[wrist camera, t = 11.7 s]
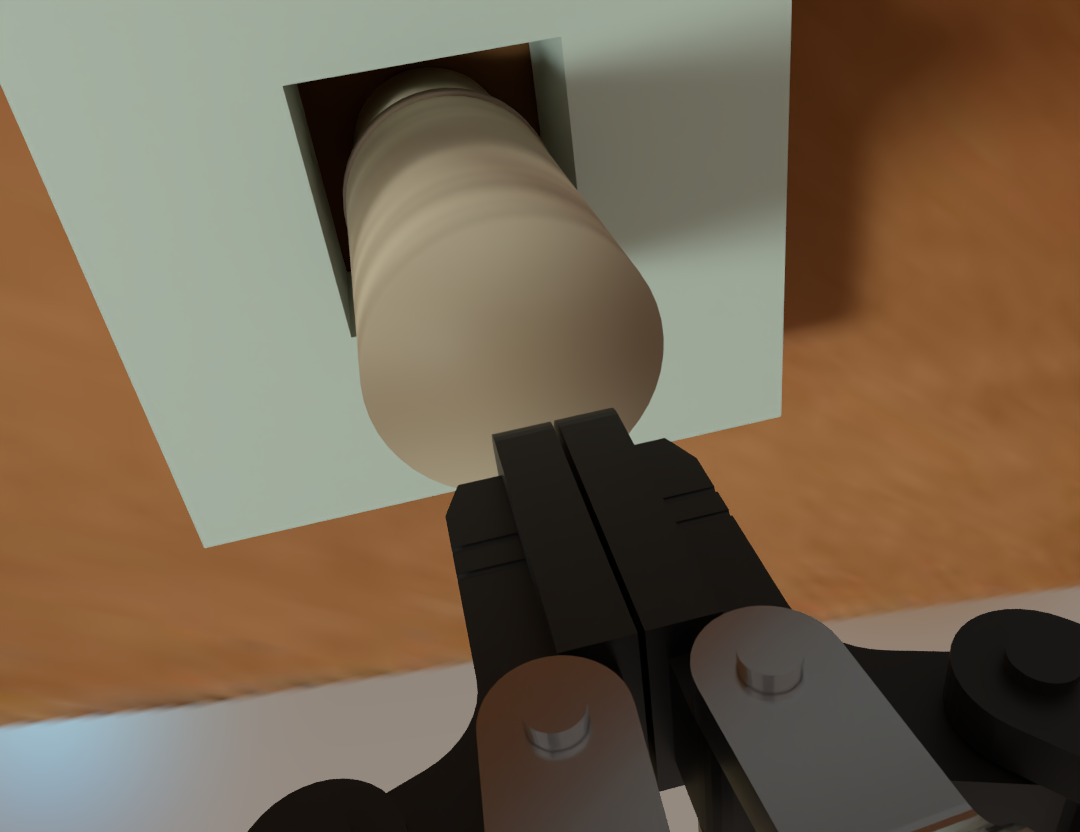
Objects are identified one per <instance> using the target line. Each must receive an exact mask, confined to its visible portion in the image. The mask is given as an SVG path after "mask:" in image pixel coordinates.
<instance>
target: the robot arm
mask: <svg viewBox="0 0 1080 832" xmlns="http://www.w3.org/2000/svg"><path fill="white" fill-rule="evenodd" d="M492 443H493V449H494V454H495V460H496V465H497V470H498V475H499V476H496V477H491V478H487V479H482V480H478V481H474V482H469V483H465V484H460V485H458V486H457V489H456V491H455V494H454V496H453V499H452V501H451V504H450V506H449V509H448V511H447V514H446V521H447V527H448V532H449V537H450V542H451V548H452V552H453V558H454V564H455V569H456V574H457V579H458V585H459V590H460V595H461V600H462V606H463V611H464V616H465V621H466V627H467V632H468V637H469V642H470V648H471V653H472V658H473V663H474V669H475V674H476V679H477V689H478V695H477V704H476V708H475V712H474V715H473V718H472V720H471V722H470V724H469V726H468V728H467V730H466V731H465V733H464V734H463V736H462V737H461V739H460V740H459V741H458V742H457V744H456V745H455V746H454V747H453V748H452V750H451V751H449V752H448V753H447V754H446V755H445V756H444V757H443V758H441V759H440V760H439V761H438V762H437V763H436V764H434V765H432V766H431V767H429V768H428V769H426V770H425V771H423V772H422V773H420V774H418V775H416V776H415V777H413V778H411V779H410V780H408V781H406V782H404V783H403V784H401V785H399V786H398V787H396V788H394V789H393V790H391V791H389V792H388V793H385V792H384V791H383V790H382V789H380V788H377V787H376V786H374V785H372V784H370V783H366V782H363V781H359V780H353V779H330V780H325V781H321V782H316V783H313V784H311V785H308V786H305V787H302V788H300V789H298V790H296V791H294V792H292V793H290V794H288V795H287V796H286V797H284V798H282V799H281V800H280V801H278V802H277V803H275V804H274V805H273V806H272V807H270V809H268V810H267V811H266V812H265V813H264V814H263V815H262V816H261V817H260V818H259V819H258V820H257V821H256V822H255V824H254V825H253V826H252V827H251V828H250V829H249V831H248V832H670V830H669V826H668V823H667V819H666V815H665V811H664V808H663V804H662V801H661V797H660V793H659V791H664V790H667V789H671V788H675V787H678V786H682V785H685V786H686V789H687V792H688V795H689V797H690V800H691V802H692V805H693V807H694V810H695V812H696V815H697V817H698V829H699V832H1080V624H1079V623H1076V622H1074V621H1071V620H1068V619H1065V618H1062V617H1059V616H1056V615H1052V614H1049V613H1044V612H1039V611H1035V610H1023V609H1005V610H998V611H992V612H988V613H985V614H982V615H979V616H977V617H975V618H974V619H971V620H970V621H968V622H967V623H966V624H965V625H964V626H962V627H961V628H960V630H959V631H958V632H957V634H956V635H955V637H954V639H953V642H952V644H951V650H950V652H936V651H932V652H931V651H890V650H875V649H867V648H861V647H856V646H852V645H849V644H846V643H842V642H841V640H840V639H839V638H838V637H837V636H836V635H835V634H834V633H833V632H832V630H830V629H829V628H828V627H826V626H825V625H824V624H823V623H821V622H819V621H818V620H816V619H814V618H813V617H811V616H808V615H806V614H804V613H801V612H799V611H795V610H792V609H791V608H790V606H789V605H788V604H787V602H786V601H785V599H784V597H783V596H782V594H781V593H780V591H779V589H778V588H777V586H776V585H775V583H774V581H773V580H772V578H771V577H770V575H769V573H768V572H767V570H766V569H765V567H764V565H763V564H762V562H761V561H760V559H759V557H758V556H757V554H756V553H755V551H754V549H753V548H752V546H751V545H750V543H749V541H748V540H747V538H746V537H745V535H744V533H743V532H742V530H741V529H740V527H739V525H738V524H737V522H736V521H735V519H734V517H733V516H730V514H729V509H728V508H727V506H726V505H725V503H724V501H723V500H722V498H721V497H720V495H719V493H718V492H715V489H714V485H713V484H712V482H711V481H710V479H709V477H708V476H707V474H706V473H705V471H704V469H703V468H702V466H701V465H700V463H699V461H698V460H697V458H695V457H694V456H692V455H691V454H689V453H688V452H686V451H685V450H683V449H681V448H680V447H678V446H677V445H675V444H674V443H672V442H670V441H669V440H667V439H666V438H662V439H658V440H653V441H649V442H644V443H640V444H636V445H634V443H633V441H632V439H631V438H630V436H629V434H628V432H627V430H626V428H625V426H624V424H623V423H622V421H621V419H620V417H619V415H618V413H617V412H616V410H615V409H614V408H608V409H603V410H599V411H594V412H590V413H585V414H581V415H576V416H572V417H567V418H563V419H558V420H554V427H553V425H552V423H551V422H546V423H541V424H537V425H532V426H528V427H523V428H519V429H514V430H510V431H505V432H501V433H496V434H492Z"/></svg>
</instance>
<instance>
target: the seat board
mask: <svg viewBox="0 0 1080 832" xmlns="http://www.w3.org/2000/svg"><path fill="white" fill-rule="evenodd" d="M791 15H792V0H0V84H1V86H2V89H3V91H4V93H5V95H6V98H7V100H8V102H9V105H10V107H11V109H12V111H13V114H14V116H15V118H16V121H17V123H18V125H19V127H20V130H21V132H22V134H23V136H24V139H25V141H26V143H27V146H28V148H29V150H30V152H31V155H32V157H33V159H34V161H35V164H36V166H37V168H38V171H39V173H40V175H41V177H42V180H43V182H44V184H45V186H46V189H47V191H48V193H49V196H50V198H51V200H52V202H53V205H54V207H55V209H56V211H57V214H58V216H59V218H60V221H61V223H62V225H63V227H64V230H65V232H66V234H67V236H68V239H69V241H70V243H71V246H72V248H73V250H74V252H75V255H76V257H77V259H78V261H79V264H80V266H81V268H82V271H83V273H84V275H85V277H86V280H87V282H88V284H89V286H90V289H91V291H92V293H93V296H94V298H95V300H96V302H97V305H98V307H99V309H100V311H101V314H102V316H103V318H104V321H105V323H106V325H107V327H108V330H109V332H110V334H111V337H112V339H113V341H114V343H115V346H116V348H117V350H118V352H119V355H120V357H121V359H122V362H123V364H124V366H125V368H126V371H127V373H128V375H129V377H130V380H131V382H132V384H133V387H134V389H135V391H136V393H137V396H138V398H139V400H140V402H141V405H142V407H143V409H144V412H145V414H146V416H147V418H148V421H149V423H150V425H151V427H152V430H153V432H154V434H155V437H156V439H157V441H158V443H159V446H160V448H161V450H162V452H163V455H164V457H165V459H166V462H167V464H168V466H169V468H170V471H171V473H172V475H173V477H174V480H175V482H176V484H177V487H178V489H179V491H180V493H181V496H182V498H183V500H184V502H185V505H186V507H187V509H188V512H189V514H190V516H191V518H192V521H193V523H194V525H195V527H196V530H197V532H198V534H199V537H200V539H201V541H202V543H203V546H204V548H207V547H212V546H216V545H220V544H225V543H229V542H233V541H238V540H242V539H247V538H251V537H255V536H260V535H264V534H268V533H273V532H277V531H282V530H286V529H290V528H295V527H299V526H303V525H308V524H312V523H317V522H321V521H325V520H330V519H334V518H339V517H343V516H347V515H352V514H356V513H360V512H365V511H369V510H374V509H378V508H382V507H387V506H391V505H395V504H400V503H404V502H409V501H413V500H417V499H422V498H426V497H430V496H435V495H439V494H444V493H448V492H452V491H456V489H457V488H454V487H450V486H446V485H444V484H442V483H439V482H437V481H434V480H432V479H429V478H428V477H426V476H424V475H422V474H421V473H419V472H417V471H415V470H414V469H412V468H411V467H410V466H408V465H407V464H406V463H404V462H403V461H402V460H401V459H400V458H399V457H398V456H397V455H396V454H395V453H394V452H393V451H392V450H391V449H390V448H389V447H388V446H387V445H386V443H385V442H384V441H383V439H382V438H381V437H380V436H379V434H378V433H377V431H376V429H375V427H374V425H373V423H372V421H371V420H370V418H369V415H368V412H367V409H366V406H365V404H364V400H363V395H362V390H361V385H360V374H359V361H358V349H357V337H356V324H355V312H354V300H353V288H352V275H351V271H350V272H347V271H346V267H345V263H344V260H343V256H342V252H341V248H340V244H339V241H338V237H337V233H336V229H335V226H334V222H333V218H332V214H331V210H330V207H329V203H328V199H327V195H326V192H325V188H324V184H323V180H322V176H321V173H320V169H319V165H318V161H317V158H316V154H315V150H314V146H313V142H312V139H311V135H310V131H309V127H308V124H307V120H306V116H305V112H304V108H303V105H302V101H301V97H300V93H299V90H298V86H297V83H302V82H307V81H313V80H319V79H324V78H330V77H336V76H341V75H347V74H352V73H358V72H364V71H369V70H375V69H381V68H386V67H392V66H398V65H403V64H409V63H414V62H420V61H426V60H431V59H437V58H443V57H448V56H454V55H460V54H465V53H471V52H476V51H482V50H488V49H493V48H499V47H505V46H510V45H516V44H522V43H527V42H529V47H530V55H531V63H532V71H533V79H534V87H535V95H536V103H537V111H538V119H539V127H540V135H541V140H542V142H543V143H544V145H545V146H546V149H547V151H548V153H549V154H550V155H551V157H552V158H553V159H554V160H555V162H556V163H557V164H558V166H559V167H560V168H561V170H562V171H563V172H564V174H565V175H566V176H567V178H568V179H569V180H570V181H571V183H572V184H573V185H574V187H575V188H576V189H577V191H578V192H579V193H580V195H581V196H582V197H583V199H584V200H585V201H586V202H587V204H588V205H589V206H590V208H591V209H592V210H593V212H594V213H595V214H596V216H597V217H598V218H599V220H600V221H601V222H602V223H603V225H604V226H605V227H606V229H607V230H608V231H609V233H610V234H611V235H612V237H613V238H614V239H615V241H616V242H617V243H618V245H619V246H620V247H621V248H622V250H623V251H624V252H625V254H626V255H627V256H628V258H629V259H630V260H631V262H632V263H633V264H634V266H635V267H636V268H637V269H638V271H639V272H640V274H641V275H642V277H643V278H644V280H645V281H646V283H647V284H648V286H649V287H650V290H651V292H652V294H653V296H654V298H655V301H656V303H657V306H658V309H659V313H660V316H661V320H662V328H663V336H664V350H663V360H662V367H661V372H660V376H659V379H658V383H657V386H656V389H655V391H654V394H653V396H652V398H651V400H650V403H649V405H648V406H647V408H646V410H645V411H644V413H643V415H642V416H641V418H640V420H639V421H638V422H637V424H636V425H635V426H634V428H633V429H632V430H631V432H630V433H629V436H630V438H631V439H632V441H633V443H634V445H636V444H640V443H644V442H649V441H653V440H658V439H662V438H666V439H667V440H669V441H670V442H671V441H676V440H680V439H684V438H689V437H693V436H698V435H702V434H706V433H711V432H715V431H719V430H724V429H728V428H733V427H737V426H741V425H746V424H750V423H754V422H759V421H763V420H768V419H772V418H776V417H781V397H782V359H783V321H784V283H785V244H786V206H787V168H788V130H789V92H790V53H791Z"/></svg>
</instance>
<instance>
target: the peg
mask: <svg viewBox="0 0 1080 832" xmlns="http://www.w3.org/2000/svg"><path fill="white" fill-rule="evenodd" d="M343 206H344V215H345V220H346V226H347V229H348V238H349V251H350V263H351V275H352V288H353V300H354V312H355V324H356V337H357V349H358V361H359V374H360V385H361V390H362V395H363V400H364V404H365V406H366V409H367V412H368V415H369V418H370V420H371V421H372V423H373V425H374V427H375V429H376V431H377V433H378V434H379V436H380V437H381V438H382V439H383V441H384V442H385V443H386V445H387V446H388V447H389V448H390V449H391V450H392V451H393V452H394V453H395V454H396V455H397V456H398V457H399V458H400V459H401V460H402V461H403V462H404V463H406V464H407V465H408V466H410V467H411V468H412V469H414V470H415V471H417V472H419V473H421V474H422V475H424V476H426V477H428V478H429V479H432V480H434V481H437V482H439V483H442V484H444V485H446V486H450V487H454V488H457V486H458V485H460V484H465V483H469V482H474V481H478V480H482V479H487V478H491V477H496V476H499V475H498V470H497V465H496V460H495V454H494V449H493V443H492V434H496V433H501V432H505V431H510V430H514V429H519V428H523V427H528V426H532V425H537V424H541V423H546V422H551V423H552V425H553V427H554V420H558V419H563V418H567V417H572V416H576V415H581V414H585V413H590V412H594V411H599V410H603V409H608V408H614V409H615V410H616V412H617V413H618V415H619V417H620V419H621V421H622V423H623V424H624V426H625V428H626V430H627V432H628V434H629V433H630V432H631V430H632V429H633V428H634V426H635V425H636V424H637V422H638V421H639V420H640V418H641V416H642V415H643V413H644V411H645V410H646V408H647V406H648V405H649V403H650V400H651V398H652V396H653V394H654V391H655V389H656V386H657V383H658V379H659V376H660V372H661V367H662V360H663V350H664V336H663V328H662V320H661V316H660V313H659V309H658V306H657V303H656V301H655V298H654V296H653V294H652V292H651V290H650V287H649V286H648V284H647V283H646V281H645V280H644V278H643V277H642V275H641V274H640V272H639V271H638V269H637V268H636V267H635V266H634V264H633V263H632V262H631V260H630V259H629V258H628V256H627V255H626V254H625V252H624V251H623V250H622V248H621V247H620V246H619V245H618V243H617V242H616V241H615V239H614V238H613V237H612V235H611V234H610V233H609V231H608V230H607V229H606V227H605V226H604V225H603V223H602V222H601V221H600V220H599V218H598V217H597V216H596V214H595V213H594V212H593V210H592V209H591V208H590V206H589V205H588V204H587V202H586V201H585V200H584V199H583V197H582V196H581V195H580V193H579V192H578V191H577V189H576V188H575V187H574V185H573V184H572V183H571V181H570V180H569V179H568V178H567V176H566V175H565V174H564V172H563V171H562V170H561V168H560V167H559V166H558V164H557V163H556V162H555V160H554V159H553V158H552V157H551V155H550V154H549V153H548V151H547V149H546V146H545V145H544V143H543V142H542V140H541V139H540V137H539V136H538V134H537V133H536V132H535V130H534V129H533V128H532V127H531V125H530V124H529V123H528V122H527V121H526V120H525V119H524V118H523V117H522V116H521V115H520V114H519V113H518V112H516V111H515V110H514V109H513V108H511V107H510V106H508V105H507V104H505V103H504V102H502V101H501V100H498V99H496V98H494V97H492V96H490V95H489V94H488V93H487V92H486V91H485V89H483V88H482V87H481V86H480V85H479V84H478V83H476V82H475V81H473V80H472V79H470V78H469V77H467V76H465V75H463V74H461V73H459V72H456V71H453V70H450V69H445V68H439V67H421V68H414V69H410V70H406V71H404V72H401V73H399V74H396V75H395V76H393V77H391V78H389V79H388V80H386V81H385V82H384V83H382V84H381V85H380V86H379V87H378V88H377V89H376V90H375V91H374V92H373V93H372V94H371V95H370V96H369V98H368V99H367V100H366V102H365V104H364V105H363V107H362V109H361V111H360V113H359V116H358V118H357V121H356V125H355V130H354V137H353V149H352V151H351V154H350V157H349V159H348V162H347V166H346V170H345V174H344V182H343Z"/></svg>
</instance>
